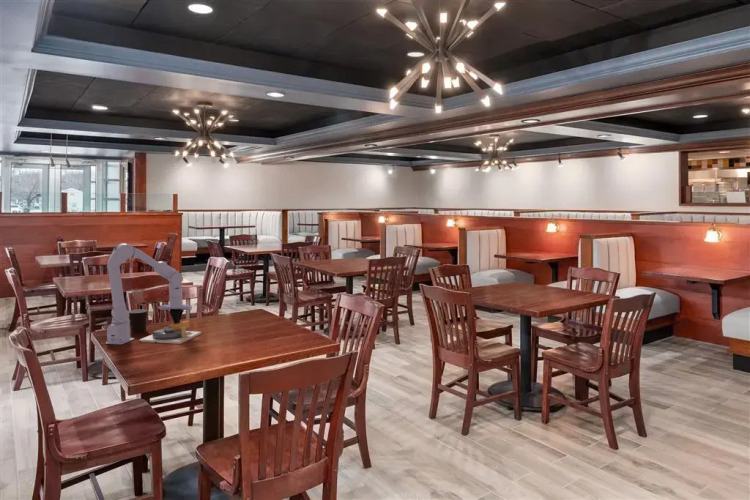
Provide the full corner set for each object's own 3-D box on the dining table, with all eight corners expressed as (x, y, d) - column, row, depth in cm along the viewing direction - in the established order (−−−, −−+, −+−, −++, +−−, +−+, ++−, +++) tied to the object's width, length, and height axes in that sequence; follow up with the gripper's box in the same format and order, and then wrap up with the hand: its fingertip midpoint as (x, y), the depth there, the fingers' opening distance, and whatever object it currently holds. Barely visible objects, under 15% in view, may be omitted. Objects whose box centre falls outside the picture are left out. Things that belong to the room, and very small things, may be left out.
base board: (180, 343, 234) (179, 331, 234) (139, 341, 238) (139, 329, 237) (201, 333, 252) (200, 322, 251) (163, 331, 256) (162, 320, 255)
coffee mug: (143, 333, 252) (142, 313, 251) (125, 333, 252) (124, 313, 251) (154, 327, 264) (153, 308, 263) (136, 327, 264) (136, 308, 263)
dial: (165, 340, 234) (165, 330, 234) (145, 336, 241) (145, 326, 241) (198, 331, 249) (198, 322, 249) (178, 328, 257) (178, 319, 256)
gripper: (194, 295, 253) (195, 323, 254) (165, 294, 255) (166, 322, 256) (187, 297, 246) (188, 326, 247) (158, 297, 248) (159, 325, 249)
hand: (177, 324), depth 251 cm, fingers closed
